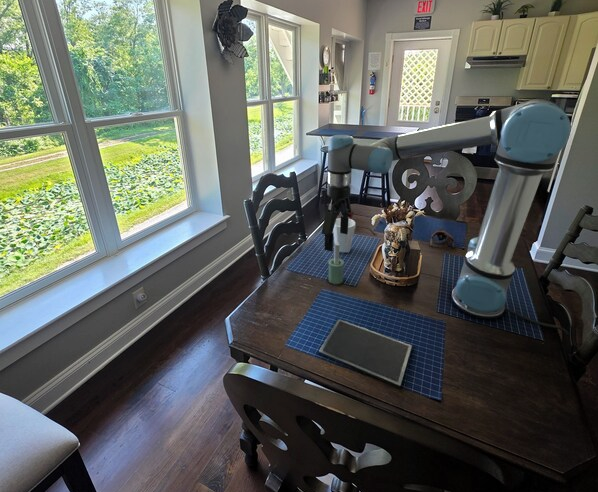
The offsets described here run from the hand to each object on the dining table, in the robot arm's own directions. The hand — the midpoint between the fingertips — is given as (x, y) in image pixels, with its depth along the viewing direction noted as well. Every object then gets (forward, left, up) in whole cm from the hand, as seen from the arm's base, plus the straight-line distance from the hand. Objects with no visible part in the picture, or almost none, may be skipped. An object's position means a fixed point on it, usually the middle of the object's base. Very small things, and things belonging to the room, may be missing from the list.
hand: (336, 241), depth 112 cm
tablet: (-20, +26, -17) cm, 37 cm away
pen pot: (0, 0, -17) cm, 17 cm away
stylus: (0, 0, -16) cm, 16 cm away
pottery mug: (-31, -45, -17) cm, 57 cm away
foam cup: (+6, -22, -17) cm, 28 cm away
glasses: (+6, -48, -17) cm, 51 cm away
